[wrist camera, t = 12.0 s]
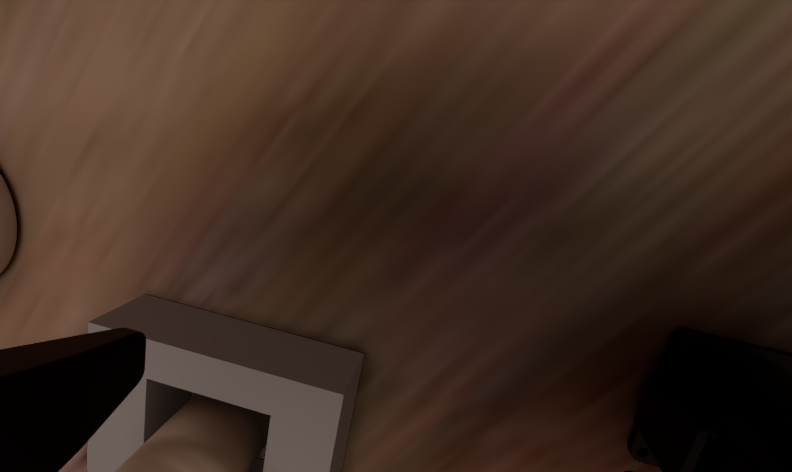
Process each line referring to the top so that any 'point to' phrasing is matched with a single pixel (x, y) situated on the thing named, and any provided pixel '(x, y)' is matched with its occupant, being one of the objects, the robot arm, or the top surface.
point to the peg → (203, 440)
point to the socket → (232, 384)
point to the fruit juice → (6, 226)
